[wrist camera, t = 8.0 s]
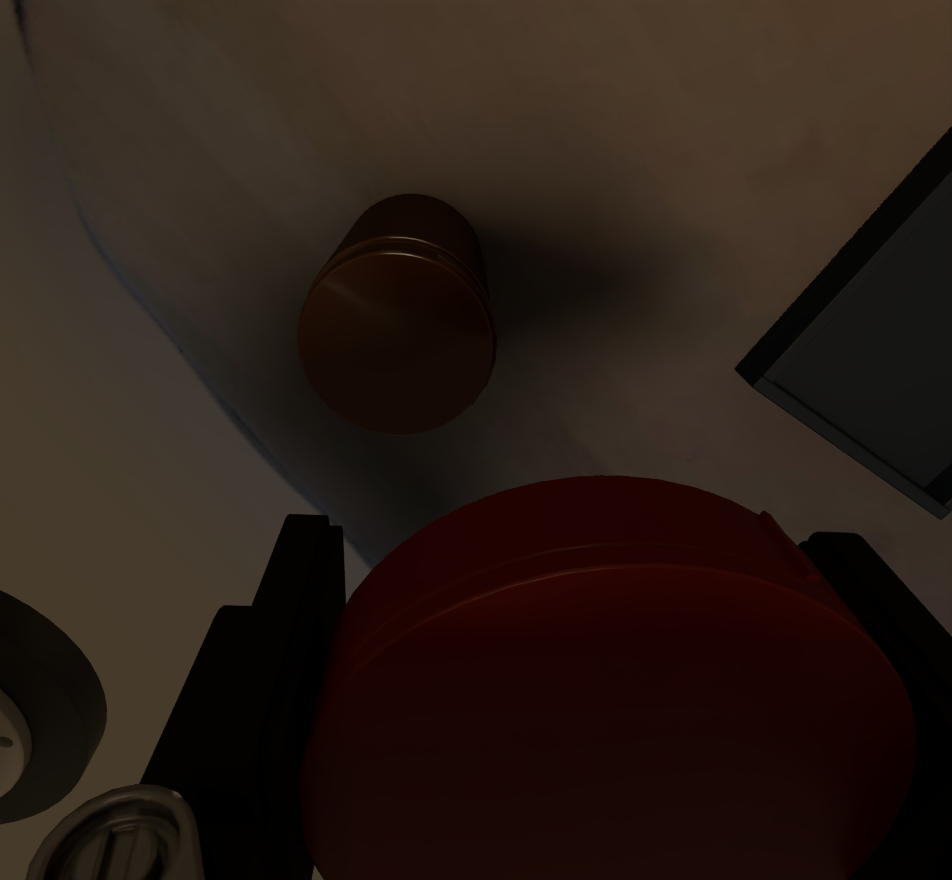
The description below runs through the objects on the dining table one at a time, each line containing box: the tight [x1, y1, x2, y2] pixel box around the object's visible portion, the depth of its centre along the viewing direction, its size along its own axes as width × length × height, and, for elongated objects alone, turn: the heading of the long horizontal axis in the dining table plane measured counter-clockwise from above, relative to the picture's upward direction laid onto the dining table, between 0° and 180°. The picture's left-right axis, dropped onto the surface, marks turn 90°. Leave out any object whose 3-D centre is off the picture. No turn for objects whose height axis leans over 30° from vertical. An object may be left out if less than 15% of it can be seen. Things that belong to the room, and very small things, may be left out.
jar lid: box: [299, 475, 917, 880], centre depth 8 cm, size 7×7×2 cm
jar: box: [297, 194, 497, 435], centre depth 23 cm, size 6×6×9 cm
